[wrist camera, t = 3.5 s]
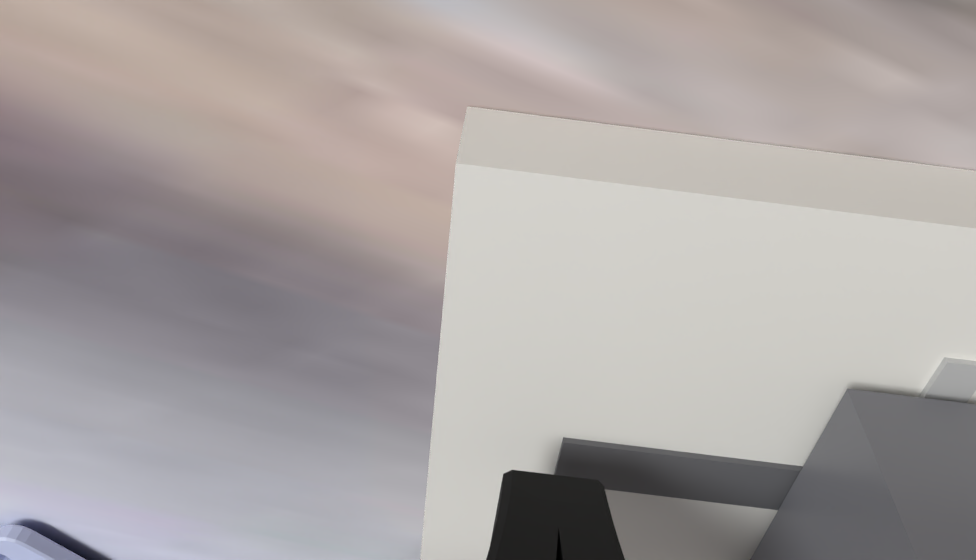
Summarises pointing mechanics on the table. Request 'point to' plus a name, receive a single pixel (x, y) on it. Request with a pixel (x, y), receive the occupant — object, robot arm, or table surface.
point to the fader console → (680, 321)
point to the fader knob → (883, 485)
